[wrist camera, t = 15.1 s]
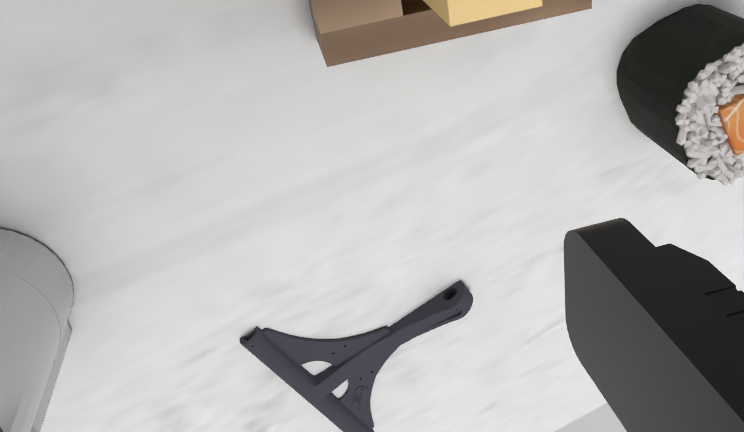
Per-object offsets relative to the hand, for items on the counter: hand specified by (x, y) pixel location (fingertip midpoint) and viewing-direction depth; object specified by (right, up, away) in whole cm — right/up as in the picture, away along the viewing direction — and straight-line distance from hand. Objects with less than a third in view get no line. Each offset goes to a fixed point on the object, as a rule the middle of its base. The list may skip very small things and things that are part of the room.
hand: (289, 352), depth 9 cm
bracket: (+2, -7, +42) cm, 43 cm away
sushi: (+20, +11, +35) cm, 42 cm away
